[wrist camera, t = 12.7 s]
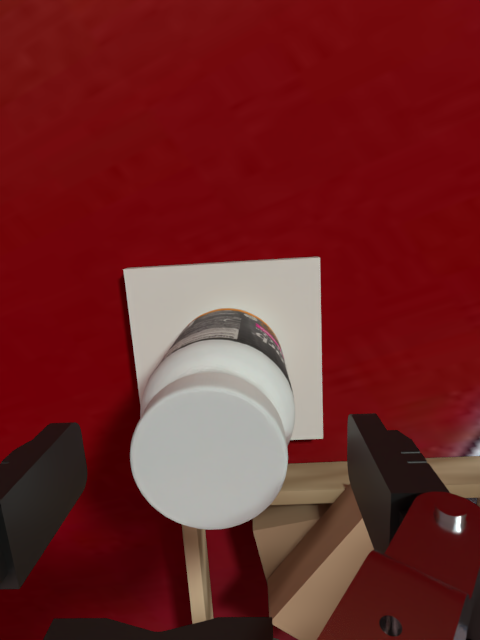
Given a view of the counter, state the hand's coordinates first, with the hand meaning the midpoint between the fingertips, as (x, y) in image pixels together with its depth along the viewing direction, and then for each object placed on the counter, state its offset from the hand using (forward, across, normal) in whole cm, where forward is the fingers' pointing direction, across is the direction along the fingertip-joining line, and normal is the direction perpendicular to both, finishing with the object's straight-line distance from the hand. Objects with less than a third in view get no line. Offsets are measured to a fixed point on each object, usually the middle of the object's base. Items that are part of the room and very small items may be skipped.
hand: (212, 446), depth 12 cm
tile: (+10, 0, 0) cm, 10 cm away
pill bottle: (+10, 0, 0) cm, 10 cm away
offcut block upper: (+8, -6, +12) cm, 15 cm away
